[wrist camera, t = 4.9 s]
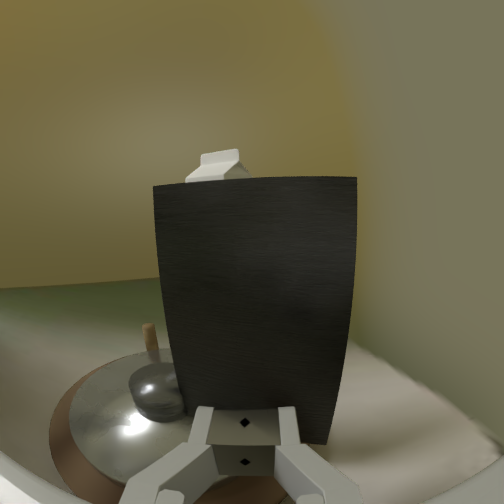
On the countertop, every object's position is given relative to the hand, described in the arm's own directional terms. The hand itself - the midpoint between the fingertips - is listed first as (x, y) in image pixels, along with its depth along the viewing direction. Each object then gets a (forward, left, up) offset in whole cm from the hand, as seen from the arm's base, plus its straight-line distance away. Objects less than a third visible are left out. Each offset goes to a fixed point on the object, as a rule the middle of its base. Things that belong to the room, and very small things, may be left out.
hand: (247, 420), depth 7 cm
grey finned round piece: (-4, +8, -8) cm, 12 cm away
